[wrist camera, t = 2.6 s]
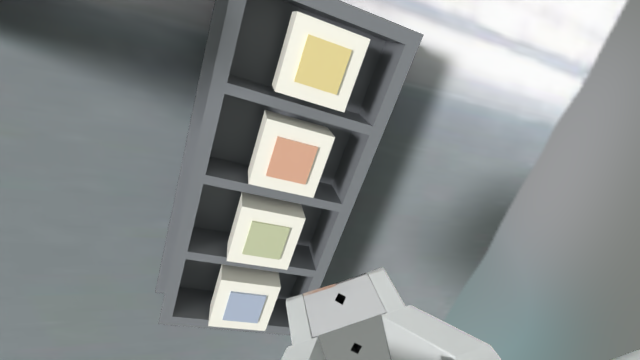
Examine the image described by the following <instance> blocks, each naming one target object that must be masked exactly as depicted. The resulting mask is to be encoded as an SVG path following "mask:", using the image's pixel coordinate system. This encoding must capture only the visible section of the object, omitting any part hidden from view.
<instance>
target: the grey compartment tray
mask: <svg viewBox="0 0 640 360" xmlns="http://www.w3.org/2000/svg"><path fill="white" fill-rule="evenodd" d="M294 11H298V12H301V13H303V14H306V15H309V16H311V17H314V18H316V19H319V20H322V21H324V22H327V23H329V24H332V25H335V26H337V27H340V28H343V29H345V30H348V31H350V32H353V33H356V34H358V35H361V36H363V37H366V38H369V39H371V40H370V42H369V45H368V48H367V51H366V53H365V56H364V59H363V62H362V65H361V67H360V70H359V73H358V76H357V78H356V81H355V84H354V87H353V89H352V92H351V95H350V98H349V101H348V103H347V106H346V109H345V112H341V111H338V110H334V109H331V108H328V107H324V106H321V105H318V104H314V103H311V102H308V101H305V100H301V99H298V98H295V97H291V96H288V95H285V94H282V93H278V92H275V91H274V89H273V86H272V82H273V79H274V75H275V72H276V68H277V64H278V61H279V57H280V54H281V50H282V47H283V43H284V39H285V36H286V32H287V29H288V25H289V22H290V18H291V14H292V12H294ZM422 37H423V34H421V33H418V32H416V31H413V30H411V29H408V28H406V27H403V26H401V25H399V24H396V23H394V22H391V21H389V20H386V19H384V18H381V17H379V16H377V15H374V14H372V13H369V12H367V11H364V10H362V9H359V8H357V7H355V6H352V5H350V4H347V3H345V2H342V1H340V0H215V4H214V9H213V14H212V19H211V23H210V28H209V33H208V38H207V43H206V48H205V53H204V57H203V62H202V67H201V72H200V77H199V82H198V86H197V91H196V96H195V101H194V106H193V111H192V115H191V120H190V125H189V130H188V135H187V140H186V145H185V149H184V154H183V159H182V164H181V169H180V174H179V178H178V183H177V188H176V193H175V198H174V203H173V207H172V212H171V217H170V222H169V227H168V232H167V237H166V241H165V246H164V251H163V256H162V261H161V266H160V270H159V275H158V280H157V285H156V290H155V293H164V299H163V303H162V308H161V313H160V317H159V322H158V324H162V325H174V326H186V327H197V328H209V329H221V330H233V331H245V332H256V333H268V334H280V335H291V334H290V327H289V321H288V315H287V308H286V299H287V298H291V297H294V296H297V295H301V294H303V293H306V292H309V291H312V290H316V289H319V288H320V286H321V284H322V281H323V279H324V277H325V274H326V272H327V269H328V267H329V264H330V262H331V259H332V257H333V255H334V252H335V250H336V247H337V245H338V242H339V240H340V238H341V235H342V233H343V230H344V228H345V225H346V223H347V220H348V218H349V216H350V213H351V211H352V208H353V206H354V203H355V201H356V198H357V196H358V194H359V191H360V189H361V186H362V184H363V181H364V179H365V176H366V174H367V172H368V169H369V167H370V164H371V162H372V159H373V157H374V154H375V152H376V150H377V147H378V145H379V142H380V140H381V137H382V135H383V133H384V130H385V128H386V125H387V123H388V120H389V118H390V115H391V113H392V111H393V108H394V106H395V103H396V101H397V98H398V96H399V93H400V91H401V89H402V86H403V84H404V81H405V79H406V76H407V74H408V71H409V69H410V67H411V64H412V62H413V59H414V57H415V54H416V52H417V49H418V47H419V45H420V42H421V40H422ZM265 110H268V111H271V112H275V113H278V114H282V115H285V116H289V117H292V118H296V119H299V120H303V121H307V122H310V123H314V124H317V125H321V126H324V127H328V129H329V130H330V131H331V133H332V134H333V135H334V137H335V139H334V142H333V145H332V148H331V150H330V153H329V156H328V159H327V161H326V164H325V167H324V170H323V172H322V175H321V178H320V181H319V184H318V186H317V189H316V192H315V195H314V197H313V198H311V197H306V196H301V195H297V194H292V193H287V192H283V191H278V190H273V189H269V188H264V187H259V186H255V185H250V184H248V168H249V165H250V161H251V157H252V154H253V150H254V147H255V143H256V140H257V136H258V132H259V129H260V125H261V122H262V118H263V115H264V111H265ZM242 192H245V193H250V194H255V195H259V196H264V197H269V198H274V199H279V200H284V201H288V202H293V203H298V204H301V205H302V209H303V212H304V215H305V218H306V220H305V222H304V225H303V228H302V231H301V233H300V236H299V239H298V242H297V244H296V247H295V250H294V253H293V256H292V258H291V261H290V264H289V267H288V269H287V270H285V269H278V268H271V267H264V266H257V265H250V264H243V263H236V262H229V261H227V244H228V240H229V236H230V233H231V229H232V225H233V222H234V218H235V215H236V211H237V207H238V204H239V200H240V197H241V193H242ZM222 264H223V265H230V266H237V267H244V268H251V269H259V270H266V271H273V272H279V278H280V284H281V289H280V292H279V294H278V297H277V300H276V303H275V305H274V308H273V311H272V314H271V316H270V319H269V322H268V325H267V328H266V330H265V331H258V330H247V329H235V328H224V327H212V326H208V322H209V312H210V304H211V300H212V297H213V293H214V290H215V286H216V283H217V279H218V275H219V272H220V268H221V265H222Z"/></svg>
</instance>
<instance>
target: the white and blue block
mask: <svg viewBox="0 0 640 360" xmlns="http://www.w3.org/2000/svg"><path fill="white" fill-rule="evenodd" d="M280 289H281V284H280V278H279V272H273V271H266V270H259V269H251V268H244V267H237V266H230V265H223V264H222V265H221V268H220V272H219V275H218V279H217V283H216V286H215V290H214V293H213V297H212V300H211V304H210V312H209V322H208V326H212V327H224V328H235V329H247V330H258V331H265V330H266V328H267V325H268V322H269V319H270V316H271V314H272V311H273V308H274V305H275V303H276V300H277V297H278V294H279V292H280Z"/></svg>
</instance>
